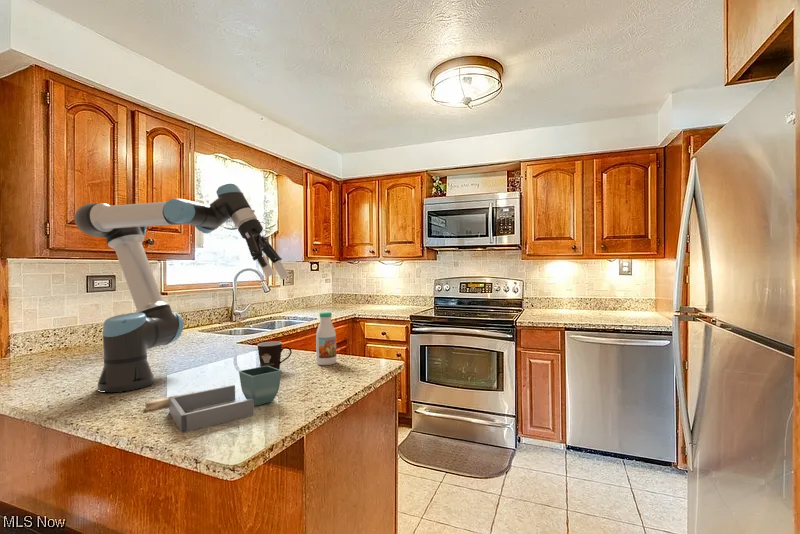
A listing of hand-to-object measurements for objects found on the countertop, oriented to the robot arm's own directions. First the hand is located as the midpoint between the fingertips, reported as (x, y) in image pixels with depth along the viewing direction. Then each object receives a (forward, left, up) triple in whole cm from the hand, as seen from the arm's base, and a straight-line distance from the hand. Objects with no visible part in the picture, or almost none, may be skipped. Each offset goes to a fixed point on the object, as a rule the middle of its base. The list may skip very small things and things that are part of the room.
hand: (278, 276), depth 133 cm
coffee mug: (-2, +13, -35) cm, 37 cm away
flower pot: (-6, -21, -35) cm, 41 cm away
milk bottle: (+18, +17, -35) cm, 43 cm away
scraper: (-29, -12, -35) cm, 47 cm away
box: (-18, -25, -35) cm, 47 cm away
